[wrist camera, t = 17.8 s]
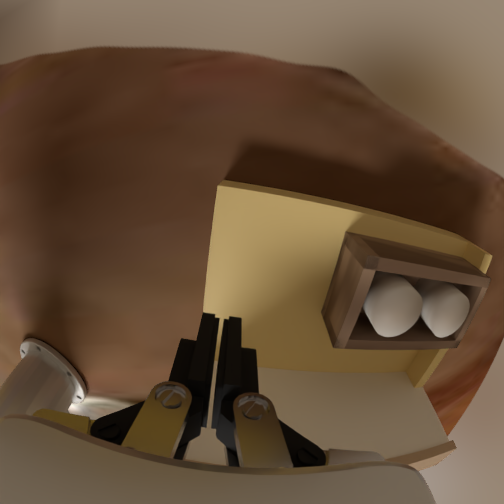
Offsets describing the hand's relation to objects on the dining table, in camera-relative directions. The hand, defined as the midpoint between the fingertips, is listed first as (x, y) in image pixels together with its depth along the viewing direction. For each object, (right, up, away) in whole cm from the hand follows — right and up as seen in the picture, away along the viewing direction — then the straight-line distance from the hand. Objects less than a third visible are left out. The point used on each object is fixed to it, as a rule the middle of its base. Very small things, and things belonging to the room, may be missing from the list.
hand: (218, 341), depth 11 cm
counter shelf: (+9, -1, +12) cm, 15 cm away
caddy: (+13, +1, +8) cm, 15 cm away
